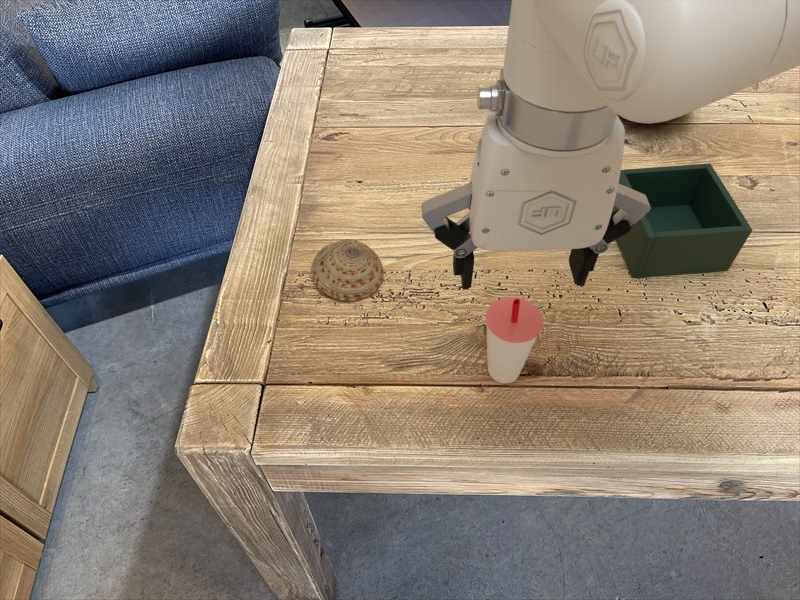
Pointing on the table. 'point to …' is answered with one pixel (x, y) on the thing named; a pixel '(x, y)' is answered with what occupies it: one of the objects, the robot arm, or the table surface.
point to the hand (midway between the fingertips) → (520, 275)
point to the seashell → (347, 270)
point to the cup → (510, 336)
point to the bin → (682, 222)
